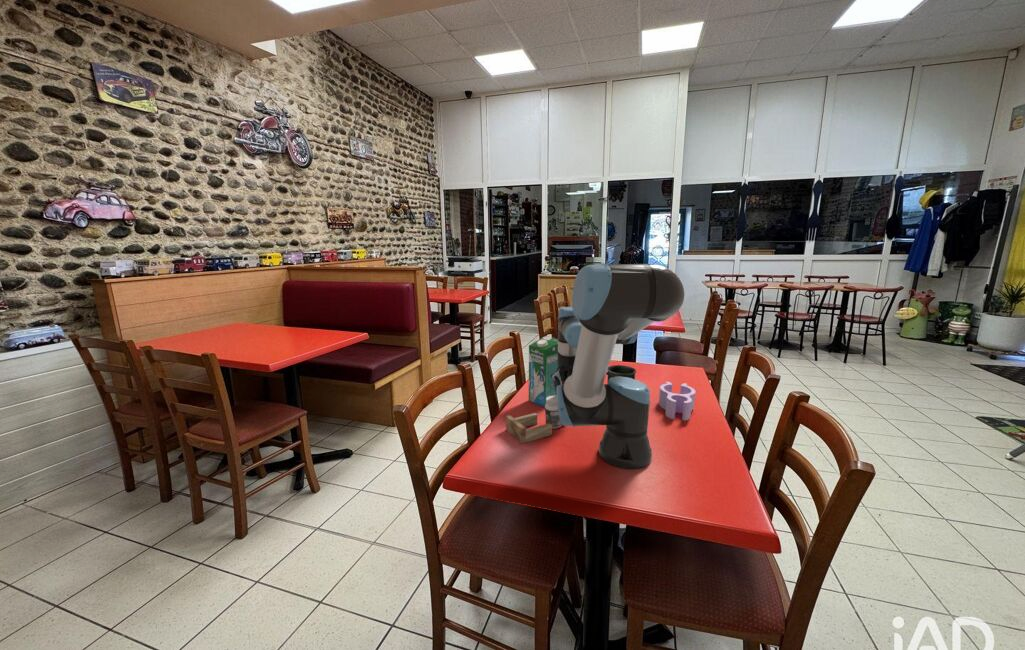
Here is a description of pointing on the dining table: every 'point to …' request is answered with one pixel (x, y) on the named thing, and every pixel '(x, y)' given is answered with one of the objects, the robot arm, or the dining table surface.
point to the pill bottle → (552, 412)
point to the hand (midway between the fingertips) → (567, 417)
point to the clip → (677, 400)
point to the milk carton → (542, 369)
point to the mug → (621, 371)
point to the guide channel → (521, 434)
